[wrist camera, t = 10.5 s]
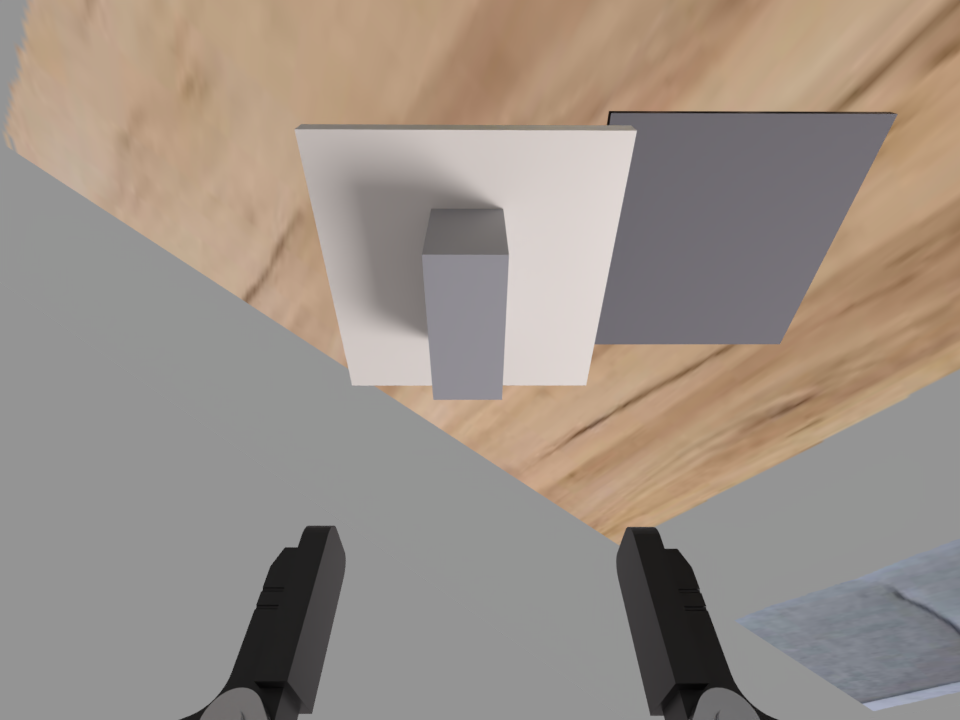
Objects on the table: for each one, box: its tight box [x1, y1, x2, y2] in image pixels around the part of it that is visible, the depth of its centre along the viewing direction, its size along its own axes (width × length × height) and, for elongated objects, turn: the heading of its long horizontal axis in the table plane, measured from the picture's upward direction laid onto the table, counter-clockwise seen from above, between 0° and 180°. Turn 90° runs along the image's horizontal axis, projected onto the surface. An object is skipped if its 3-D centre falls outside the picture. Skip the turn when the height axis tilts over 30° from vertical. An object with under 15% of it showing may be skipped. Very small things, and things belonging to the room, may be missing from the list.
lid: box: [295, 124, 637, 400], centre depth 23 cm, size 15×15×6 cm
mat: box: [594, 111, 898, 344], centre depth 31 cm, size 16×16×1 cm
